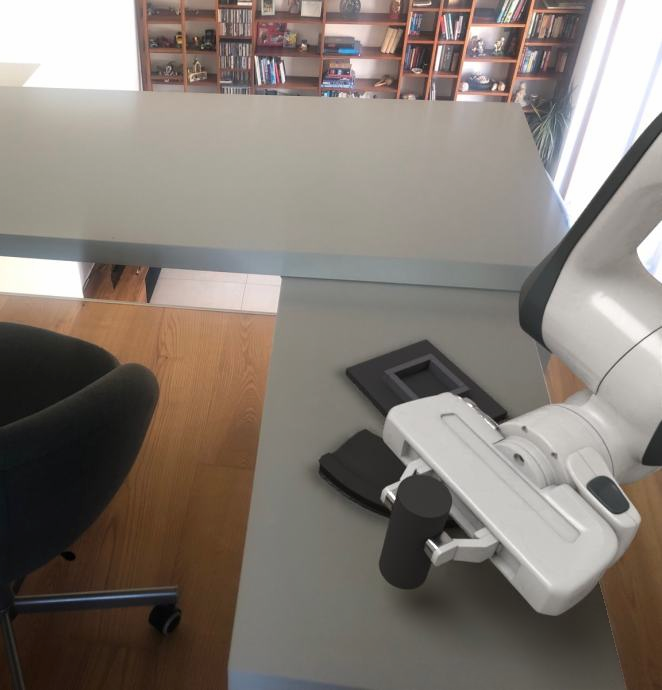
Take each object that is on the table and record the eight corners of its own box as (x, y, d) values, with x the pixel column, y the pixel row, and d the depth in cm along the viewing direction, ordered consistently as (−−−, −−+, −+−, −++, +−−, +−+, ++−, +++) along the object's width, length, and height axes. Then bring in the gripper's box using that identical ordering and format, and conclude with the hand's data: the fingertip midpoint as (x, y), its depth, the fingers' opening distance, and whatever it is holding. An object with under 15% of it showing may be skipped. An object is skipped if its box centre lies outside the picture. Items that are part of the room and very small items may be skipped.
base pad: (505, 417, 78) (511, 402, 76) (419, 454, 74) (424, 439, 72) (424, 344, 87) (428, 329, 86) (345, 374, 84) (347, 358, 82)
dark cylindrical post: (437, 574, 58) (464, 501, 52) (402, 598, 56) (425, 526, 50) (403, 540, 61) (424, 466, 54) (368, 562, 59) (386, 489, 53)
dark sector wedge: (421, 557, 65) (424, 547, 64) (313, 471, 73) (314, 461, 72) (472, 507, 69) (476, 498, 68) (364, 431, 77) (366, 421, 76)
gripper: (464, 364, 63) (337, 412, 59) (662, 536, 49) (513, 616, 45) (449, 411, 68) (329, 460, 63) (628, 583, 53) (489, 661, 49)
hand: (407, 527), depth 54 cm, fingers closed on dark cylindrical post, 4 cm apart
